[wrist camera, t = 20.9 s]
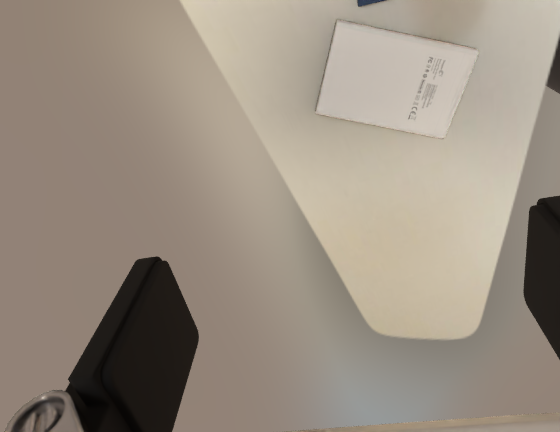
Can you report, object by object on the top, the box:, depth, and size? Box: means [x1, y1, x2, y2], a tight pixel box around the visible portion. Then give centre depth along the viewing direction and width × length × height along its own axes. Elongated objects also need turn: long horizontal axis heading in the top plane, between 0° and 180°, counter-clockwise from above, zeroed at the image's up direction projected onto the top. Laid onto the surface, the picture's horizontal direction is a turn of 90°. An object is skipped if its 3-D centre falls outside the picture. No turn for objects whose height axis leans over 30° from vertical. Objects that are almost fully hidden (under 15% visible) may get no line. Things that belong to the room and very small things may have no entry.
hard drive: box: [315, 19, 479, 139], centre depth 40 cm, size 2×8×12 cm
